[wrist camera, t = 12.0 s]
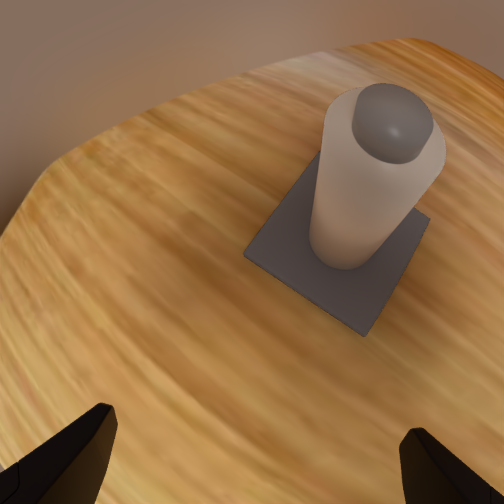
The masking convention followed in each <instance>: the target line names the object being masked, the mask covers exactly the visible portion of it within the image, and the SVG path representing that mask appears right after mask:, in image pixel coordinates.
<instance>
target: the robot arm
mask: <svg viewBox="0 0 504 504" xmlns="http://www.w3.org/2000/svg"><path fill="white" fill-rule="evenodd" d="M117 426H118V423H117V419H116V414H115V410H114V407H113V406H112V405H109V404H105V403H98V404H97V405H95V406H94V407H93V408H91V409H90V410H89V411H87V412H86V413H85V414H83V415H82V416H80V417H79V418H78V419H76V420H75V421H74V422H72V423H71V424H69V425H68V426H67V427H65V428H64V429H63V430H61V431H60V432H58V433H57V434H56V435H54V436H53V437H51V438H50V439H49V440H47V441H46V442H44V443H43V444H42V445H40V446H39V447H37V448H36V449H35V450H33V451H32V452H30V453H29V454H28V455H26V456H25V457H23V458H22V459H20V460H19V461H18V462H16V463H14V464H13V465H12V466H10V467H9V468H7V469H6V470H4V471H3V472H1V473H0V504H95V501H96V498H97V496H98V493H99V490H100V487H101V485H102V482H103V479H104V477H105V474H106V471H107V468H108V464H109V460H110V455H111V451H112V447H113V443H114V439H115V435H116V431H117ZM399 453H400V463H401V473H402V483H403V490H404V496H405V501H406V504H504V496H503V495H502V494H500V493H499V492H498V491H497V490H495V489H494V488H493V487H492V486H490V485H489V484H488V483H487V482H486V481H485V480H483V479H482V478H481V477H480V476H479V475H477V474H476V473H475V472H474V471H473V470H472V469H470V468H469V467H468V466H467V465H466V464H464V463H463V462H462V461H461V460H460V459H459V458H457V457H456V456H455V455H454V454H453V453H452V452H450V451H449V450H448V449H447V448H446V447H445V446H444V445H442V444H441V443H440V442H439V441H438V440H437V439H435V438H434V437H433V436H432V435H431V434H430V433H428V432H427V431H426V430H425V429H424V428H421V427H419V428H412V429H410V430H409V432H408V433H407V434H406V436H405V437H404V439H403V440H402V442H401V443H400V446H399Z"/></svg>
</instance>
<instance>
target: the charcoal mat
mask: <svg viewBox="0 0 504 504" xmlns="http://www.w3.org/2000/svg"><path fill="white" fill-rule="evenodd" d="M320 153H321V151H319V152H318V154H317V155H316V156H315V158H314V159H313V160H312V162H311V163H310V164H309V166H308V167H307V168H306V170H305V171H304V172H303V174H302V175H301V176H300V178H299V179H298V180H297V182H296V183H295V184H294V186H293V187H292V188H291V190H290V191H289V192H288V194H287V195H286V196H285V198H284V199H283V200H282V202H281V203H280V204H279V206H278V207H277V208H276V210H275V211H274V212H273V214H272V215H271V216H270V218H269V219H268V220H267V222H266V223H265V224H264V226H263V227H262V228H261V230H260V231H259V232H258V234H257V235H256V237H255V238H254V239H253V241H252V242H251V243H250V245H249V246H248V247H247V249H246V250H245V251H244V253H243V255H244V256H245V257H246V258H248V259H249V260H251V261H252V262H253V263H255V264H256V265H258V266H259V267H261V268H262V269H264V270H265V271H267V272H268V273H270V274H271V275H273V276H274V277H276V278H277V279H279V280H280V281H281V282H283V283H284V284H286V285H287V286H289V287H290V288H292V289H293V290H295V291H296V292H298V293H299V294H301V295H302V296H304V297H305V298H307V299H308V300H310V301H311V302H313V303H314V304H315V305H317V306H318V307H320V308H321V309H323V310H324V311H326V312H327V313H329V314H330V315H332V316H333V317H335V318H336V319H338V320H339V321H341V322H342V323H344V324H345V325H347V326H348V327H350V328H351V329H353V330H354V331H356V332H357V333H359V334H360V335H362V336H363V337H365V336H366V335H367V333H368V332H369V330H370V329H371V327H372V325H373V324H374V322H375V321H376V319H377V317H378V316H379V314H380V312H381V311H382V309H383V307H384V306H385V304H386V302H387V301H388V299H389V297H390V295H391V294H392V292H393V290H394V288H395V287H396V285H397V283H398V281H399V279H400V278H401V276H402V274H403V272H404V270H405V268H406V267H407V265H408V263H409V261H410V259H411V257H412V255H413V253H414V251H415V249H416V247H417V245H418V243H419V241H420V239H421V237H422V235H423V233H424V231H425V229H426V227H427V225H428V223H429V221H430V218H428V217H427V216H425V215H424V214H422V213H421V212H419V211H418V210H416V209H415V208H412V209H411V210H410V212H409V213H408V214H407V215H406V216H405V218H404V219H403V220H402V221H401V222H400V224H399V225H398V226H397V227H396V228H395V230H394V231H393V232H392V233H391V234H390V235H389V237H388V238H387V239H386V240H385V241H384V242H383V244H382V245H381V246H380V247H379V248H378V249H377V250H376V251H375V253H374V254H373V255H372V256H371V257H370V258H369V259H368V260H367V261H366V262H365V263H364V264H363V265H361V266H359V267H357V268H354V269H349V270H340V269H335V268H332V267H330V266H328V265H326V264H324V263H323V262H322V261H321V260H320V259H319V258H318V257H317V256H316V255H315V253H314V252H313V250H312V248H311V245H310V241H309V229H310V222H311V216H312V210H313V203H314V196H315V189H316V183H317V175H318V168H319V161H320Z"/></svg>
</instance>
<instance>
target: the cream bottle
mask: <svg viewBox="0 0 504 504" xmlns="http://www.w3.org/2000/svg"><path fill="white" fill-rule="evenodd" d="M445 160H446V144H445V140H444V137H443V134H442V132H441V129H440V127H439V126H438V124H437V122H436V121H435V120H434V118H433V117H432V114H431V112H430V110H429V109H428V107H427V106H426V104H425V103H424V102H423V101H422V100H421V99H420V98H419V97H418V96H416V95H415V94H414V93H412V92H411V91H409V90H407V89H405V88H403V87H400V86H397V85H393V84H386V83H380V84H373V85H370V86H368V87H359V88H355V89H352V90H349V91H346V92H345V93H343V94H341V95H340V96H338V97H337V98H336V99H335V100H334V101H333V102H332V103H331V105H330V106H329V108H328V110H327V112H326V116H325V121H324V129H323V138H322V145H321V153H320V161H319V168H318V175H317V183H316V189H315V196H314V203H313V210H312V216H311V222H310V229H309V241H310V245H311V248H312V250H313V252H314V253H315V255H316V256H317V257H318V258H319V259H320V260H321V261H322V262H323V263H324V264H326V265H328V266H330V267H332V268H335V269H340V270H349V269H354V268H357V267H359V266H361V265H363V264H364V263H365V262H366V261H367V260H368V259H369V258H370V257H371V256H372V255H373V254H374V253H375V251H376V250H377V249H378V248H379V247H380V246H381V245H382V244H383V242H384V241H385V240H386V239H387V238H388V237H389V235H390V234H391V233H392V232H393V231H394V230H395V228H396V227H397V226H398V225H399V224H400V222H401V221H402V220H403V219H404V218H405V216H406V215H407V214H408V213H409V212H410V210H411V209H412V208H413V207H414V205H415V204H416V203H417V202H418V201H419V199H420V198H421V197H422V196H423V194H424V193H425V192H426V191H427V189H428V188H429V187H430V185H431V184H432V183H433V182H434V180H435V179H436V178H437V176H438V175H439V174H440V172H441V171H442V169H443V167H444V164H445Z"/></svg>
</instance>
